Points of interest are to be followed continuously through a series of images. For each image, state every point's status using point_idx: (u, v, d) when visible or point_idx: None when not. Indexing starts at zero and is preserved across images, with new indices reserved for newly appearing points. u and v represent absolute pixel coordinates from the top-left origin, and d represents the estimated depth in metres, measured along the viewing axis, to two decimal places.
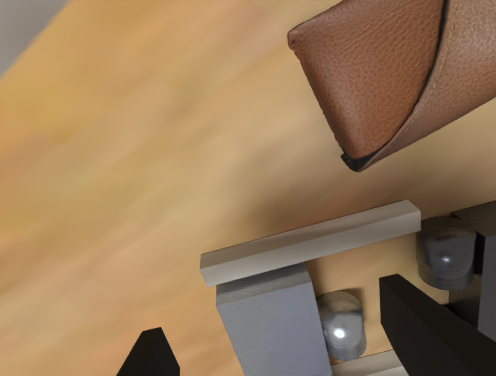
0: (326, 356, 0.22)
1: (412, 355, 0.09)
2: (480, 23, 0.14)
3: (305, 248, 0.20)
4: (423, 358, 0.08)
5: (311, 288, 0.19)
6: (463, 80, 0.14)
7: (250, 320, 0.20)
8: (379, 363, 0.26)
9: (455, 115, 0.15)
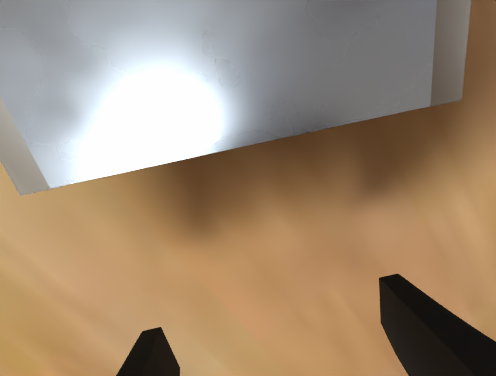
0: None
1: (412, 355, 0.09)
2: None
3: None
4: (423, 358, 0.08)
5: None
6: None
7: (87, 121, 0.09)
8: None
9: None
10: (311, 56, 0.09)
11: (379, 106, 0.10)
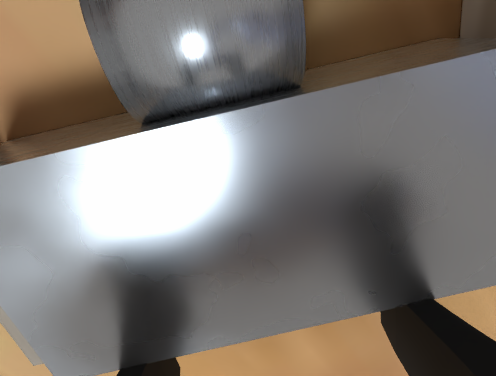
0: (273, 108, 0.06)
1: (412, 355, 0.09)
2: None
3: None
4: (423, 358, 0.08)
5: None
6: None
7: (103, 323, 0.08)
8: None
9: None
10: (364, 249, 0.07)
11: (440, 288, 0.08)
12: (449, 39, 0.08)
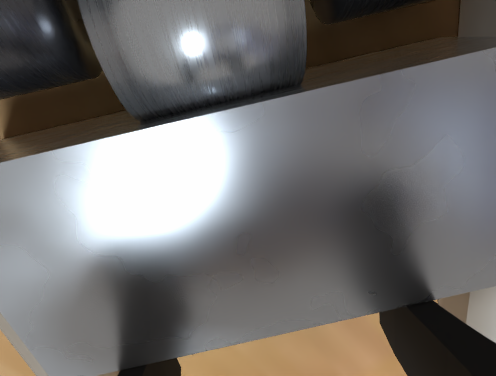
0: (273, 106, 0.06)
1: (411, 355, 0.09)
2: None
3: None
4: (422, 358, 0.08)
5: None
6: None
7: (100, 324, 0.08)
8: None
9: None
10: (365, 249, 0.07)
11: (441, 289, 0.08)
12: (450, 38, 0.08)
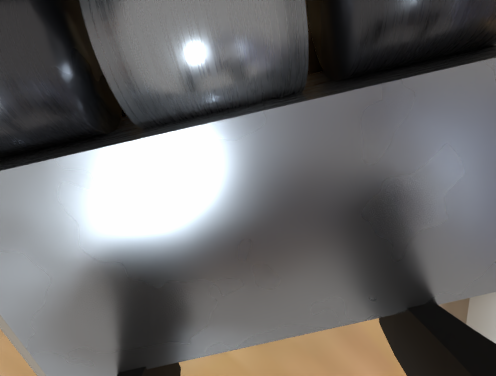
0: (275, 114, 0.06)
1: (410, 355, 0.09)
2: None
3: None
4: (421, 358, 0.08)
5: None
6: None
7: (101, 329, 0.08)
8: None
9: None
10: (365, 255, 0.07)
11: (441, 295, 0.08)
12: None
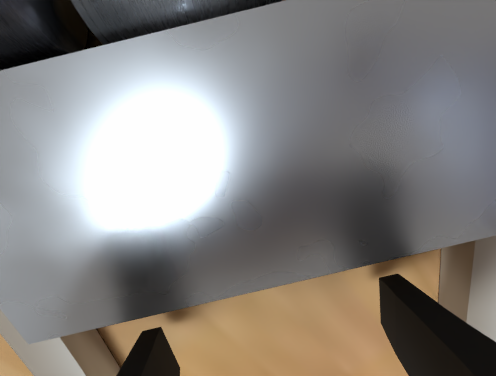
0: (249, 18, 0.05)
1: (412, 355, 0.09)
2: None
3: None
4: (423, 358, 0.08)
5: None
6: None
7: (71, 275, 0.07)
8: None
9: None
10: (354, 191, 0.07)
11: (437, 238, 0.08)
12: None
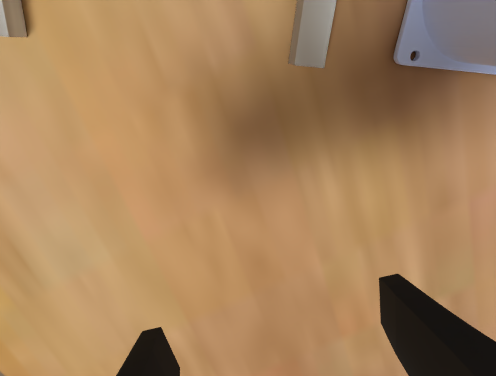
0: None
1: (412, 355, 0.09)
2: None
3: None
4: (423, 358, 0.08)
5: None
6: None
7: None
8: None
9: None
10: None
11: None
12: None
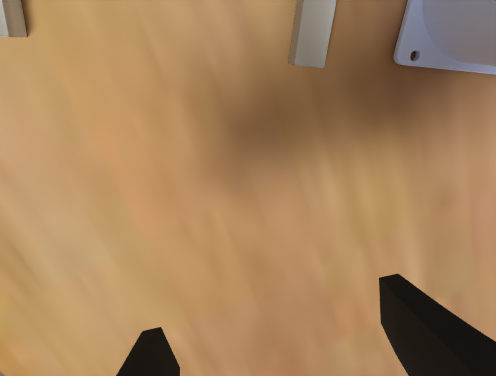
0: None
1: (412, 355, 0.09)
2: None
3: None
4: (423, 358, 0.08)
5: None
6: None
7: None
8: None
9: None
10: None
11: None
12: None
